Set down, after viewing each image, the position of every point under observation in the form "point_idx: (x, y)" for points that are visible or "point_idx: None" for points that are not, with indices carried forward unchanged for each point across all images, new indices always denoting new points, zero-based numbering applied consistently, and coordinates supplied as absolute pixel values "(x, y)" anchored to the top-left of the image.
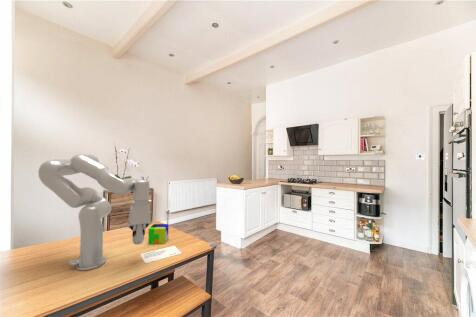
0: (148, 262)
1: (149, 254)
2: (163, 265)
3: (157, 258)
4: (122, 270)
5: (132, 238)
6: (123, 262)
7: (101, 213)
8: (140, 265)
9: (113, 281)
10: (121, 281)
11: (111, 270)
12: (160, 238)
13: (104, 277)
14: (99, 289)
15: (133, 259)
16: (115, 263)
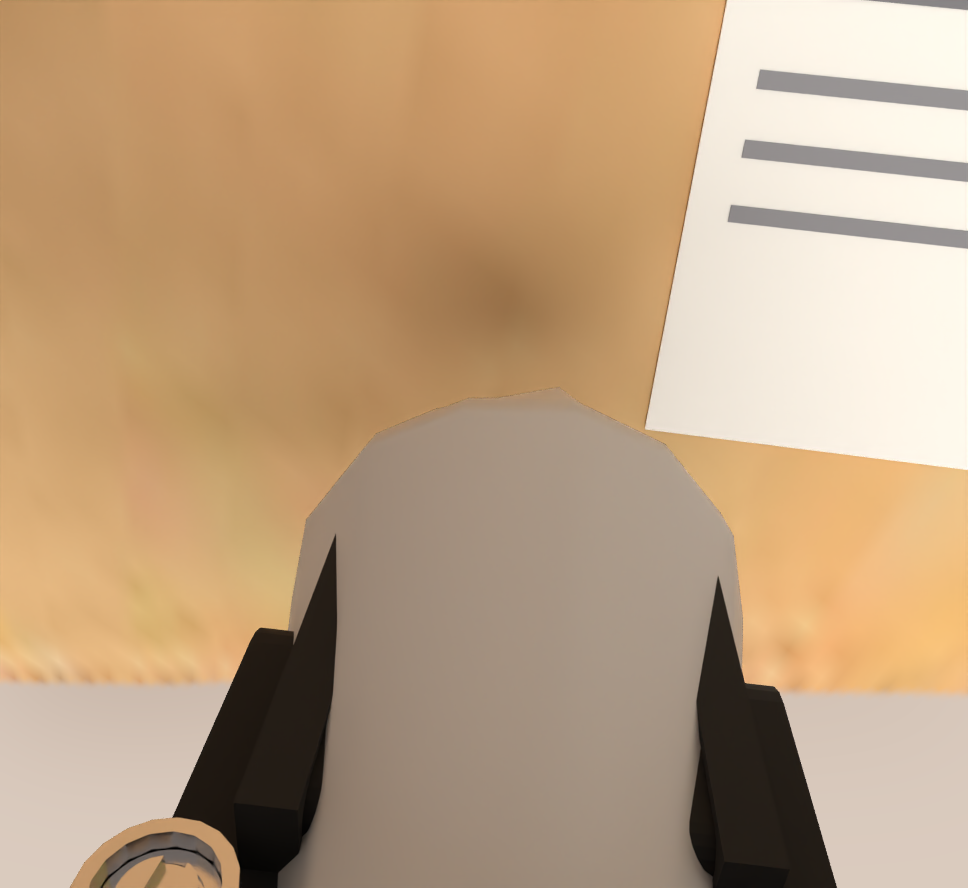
0: (705, 435)
1: (902, 88)
2: (843, 669)
3: (914, 404)
4: (268, 401)
5: (297, 573)
6: (313, 88)
7: None
8: None
9: (144, 600)
10: (234, 660)
11: (104, 278)
12: None
13: (24, 429)
14: (6, 650)
15: (519, 85)
16: (164, 17)
